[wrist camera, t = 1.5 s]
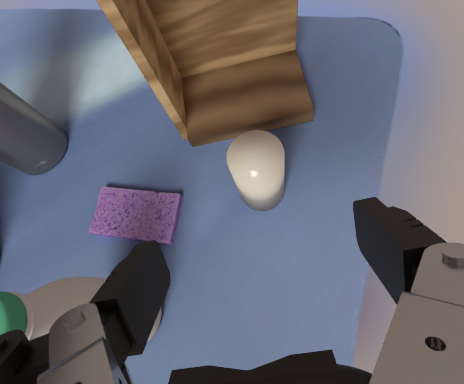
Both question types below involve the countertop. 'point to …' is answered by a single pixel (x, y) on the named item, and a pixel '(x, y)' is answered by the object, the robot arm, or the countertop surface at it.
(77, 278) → the milk bottle
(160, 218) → the sponges
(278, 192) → the candle
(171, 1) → the wooden c-shaped stand
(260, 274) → the countertop surface
